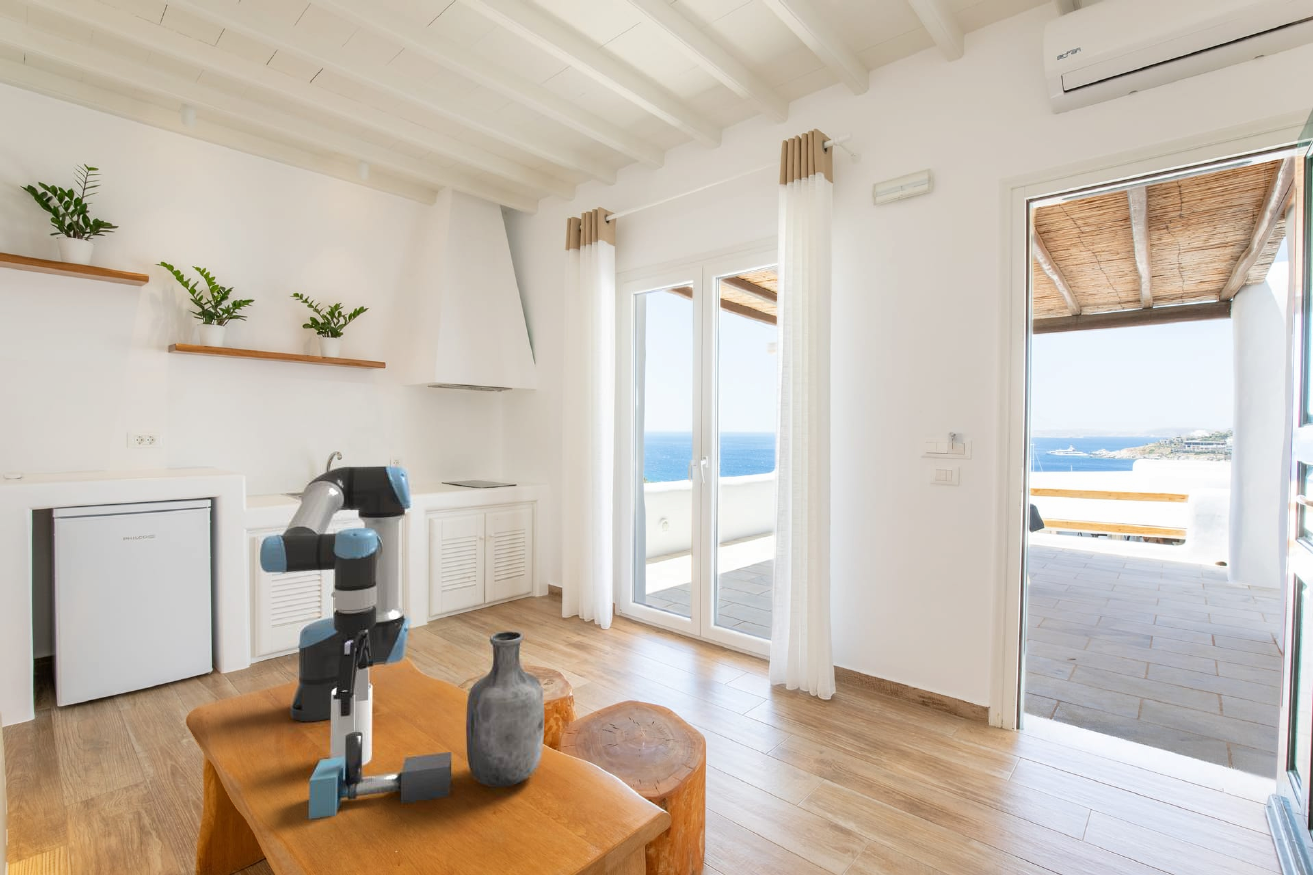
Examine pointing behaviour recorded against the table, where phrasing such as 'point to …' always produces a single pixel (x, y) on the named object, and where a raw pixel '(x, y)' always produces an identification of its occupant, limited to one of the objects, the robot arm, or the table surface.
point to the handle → (353, 773)
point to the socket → (325, 787)
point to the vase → (505, 718)
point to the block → (426, 777)
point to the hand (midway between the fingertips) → (354, 714)
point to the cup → (361, 725)
